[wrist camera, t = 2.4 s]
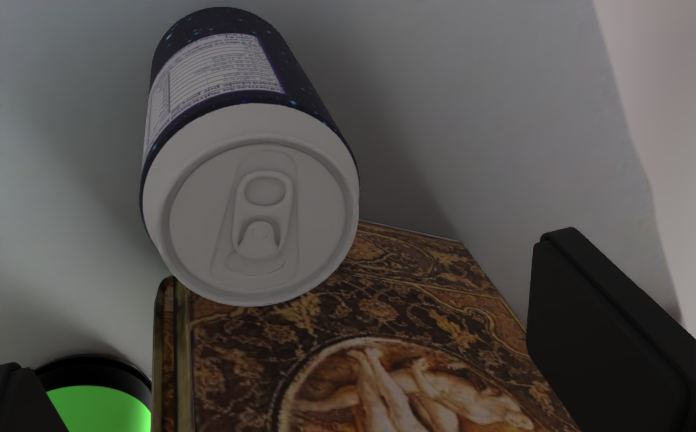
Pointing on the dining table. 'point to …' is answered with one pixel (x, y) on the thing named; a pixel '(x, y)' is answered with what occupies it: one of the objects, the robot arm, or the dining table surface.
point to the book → (355, 351)
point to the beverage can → (243, 164)
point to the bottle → (98, 393)
